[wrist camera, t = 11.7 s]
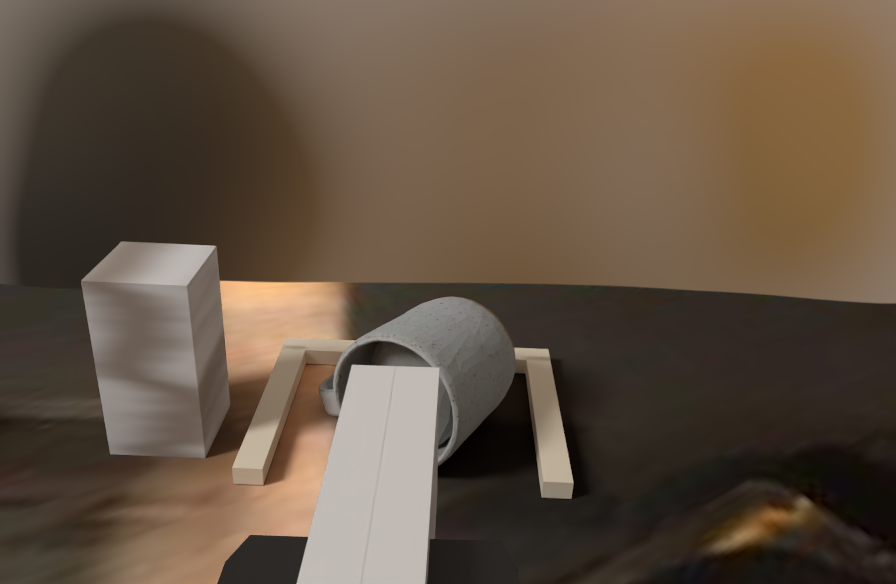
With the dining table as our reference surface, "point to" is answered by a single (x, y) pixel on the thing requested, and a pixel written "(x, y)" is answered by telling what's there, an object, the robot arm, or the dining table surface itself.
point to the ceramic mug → (439, 362)
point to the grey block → (159, 348)
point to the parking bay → (304, 351)
